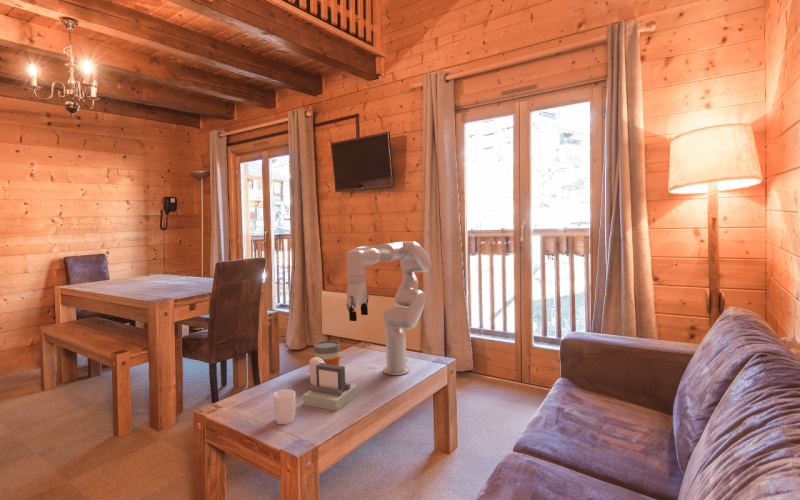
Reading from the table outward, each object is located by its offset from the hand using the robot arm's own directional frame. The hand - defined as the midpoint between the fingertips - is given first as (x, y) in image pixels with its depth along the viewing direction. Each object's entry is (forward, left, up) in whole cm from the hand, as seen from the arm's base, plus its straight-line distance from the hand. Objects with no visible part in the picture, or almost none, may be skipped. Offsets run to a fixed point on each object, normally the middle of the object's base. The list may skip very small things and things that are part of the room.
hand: (359, 317), depth 173 cm
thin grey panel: (+14, -6, -28) cm, 31 cm away
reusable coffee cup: (-9, -23, -32) cm, 40 cm away
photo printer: (+3, -20, -32) cm, 38 cm away
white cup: (+35, -12, -32) cm, 49 cm away
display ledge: (+14, -6, -32) cm, 35 cm away
